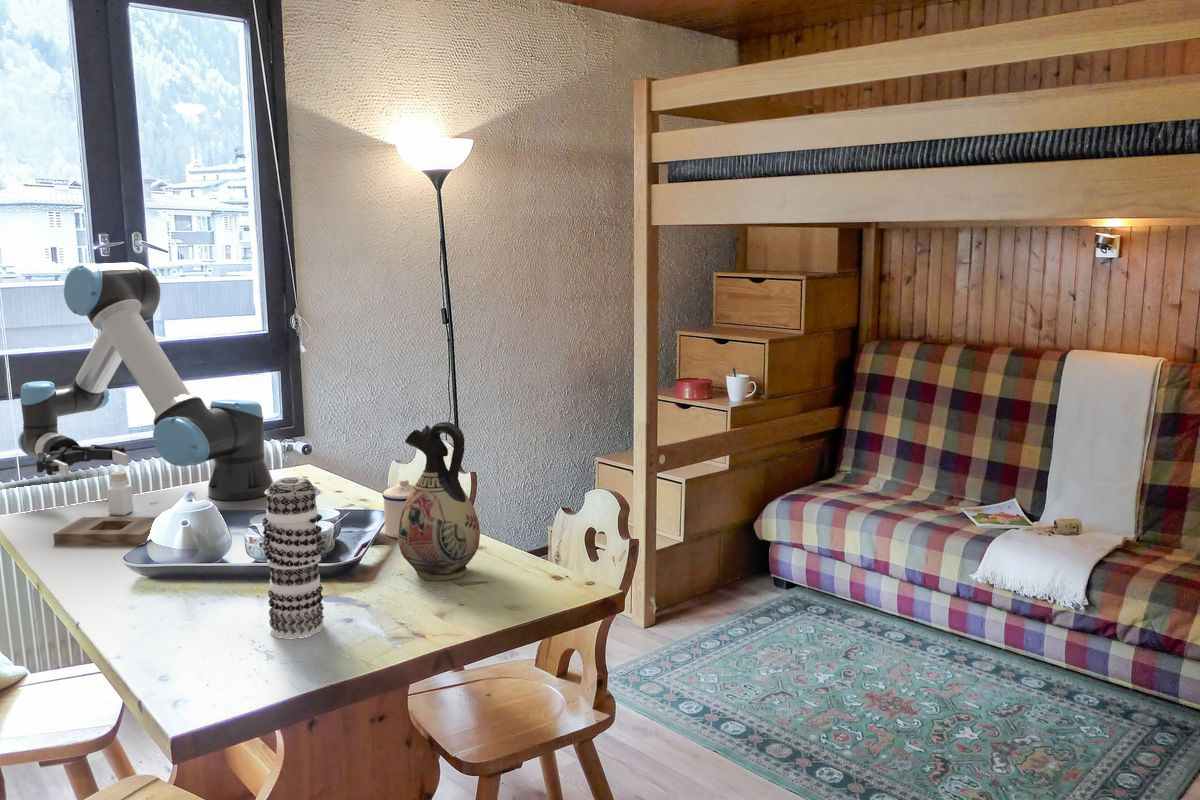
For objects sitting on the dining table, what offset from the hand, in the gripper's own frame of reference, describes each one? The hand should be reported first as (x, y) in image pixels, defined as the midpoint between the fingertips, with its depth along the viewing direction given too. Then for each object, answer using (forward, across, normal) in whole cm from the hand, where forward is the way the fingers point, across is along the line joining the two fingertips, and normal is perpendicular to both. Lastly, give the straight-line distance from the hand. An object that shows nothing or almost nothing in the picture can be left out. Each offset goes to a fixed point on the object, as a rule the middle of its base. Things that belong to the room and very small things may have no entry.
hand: (97, 465), depth 230 cm
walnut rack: (+26, +9, -9) cm, 29 cm away
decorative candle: (+97, +12, -8) cm, 98 cm away
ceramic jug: (+96, -21, -8) cm, 99 cm away
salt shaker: (+10, 0, -10) cm, 14 cm away
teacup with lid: (+69, -33, -8) cm, 77 cm away
